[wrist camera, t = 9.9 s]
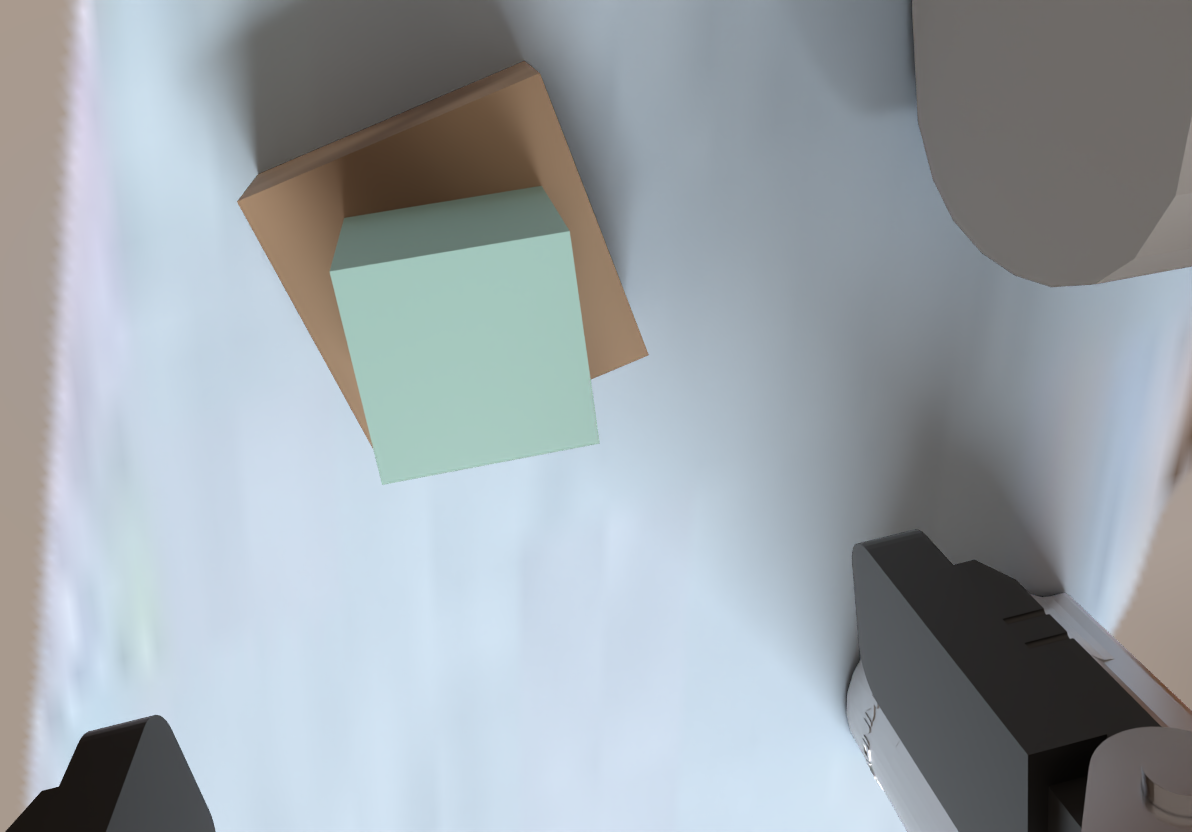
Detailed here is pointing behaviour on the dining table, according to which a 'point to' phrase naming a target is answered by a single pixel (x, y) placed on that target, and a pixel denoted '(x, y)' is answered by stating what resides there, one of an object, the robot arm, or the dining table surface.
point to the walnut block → (431, 175)
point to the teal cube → (465, 332)
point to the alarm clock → (1061, 131)
